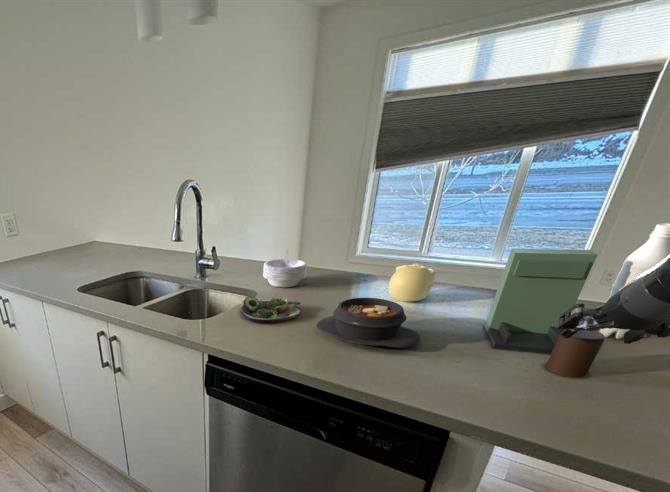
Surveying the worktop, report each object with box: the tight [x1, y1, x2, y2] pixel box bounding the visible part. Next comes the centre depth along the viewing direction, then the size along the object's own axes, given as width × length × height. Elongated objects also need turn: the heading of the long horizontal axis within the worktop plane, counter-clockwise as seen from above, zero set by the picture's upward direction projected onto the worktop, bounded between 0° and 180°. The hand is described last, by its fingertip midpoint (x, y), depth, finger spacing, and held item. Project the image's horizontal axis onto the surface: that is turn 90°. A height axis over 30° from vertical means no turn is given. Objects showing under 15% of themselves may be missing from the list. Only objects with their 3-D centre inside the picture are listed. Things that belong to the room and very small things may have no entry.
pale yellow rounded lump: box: [388, 263, 437, 302], centre depth 125 cm, size 12×12×11 cm
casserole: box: [316, 297, 421, 349], centre depth 104 cm, size 25×19×8 cm
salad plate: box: [239, 295, 302, 324], centre depth 126 cm, size 19×18×5 cm
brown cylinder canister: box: [545, 330, 605, 378], centre depth 83 cm, size 6×6×8 cm
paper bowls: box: [262, 258, 308, 288], centre depth 149 cm, size 15×15×8 cm
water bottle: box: [594, 222, 670, 340], centre depth 90 cm, size 7×7×25 cm
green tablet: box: [484, 248, 598, 355], centre depth 93 cm, size 14×14×20 cm
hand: (594, 336), depth 77 cm, fingers open, 8 cm apart
